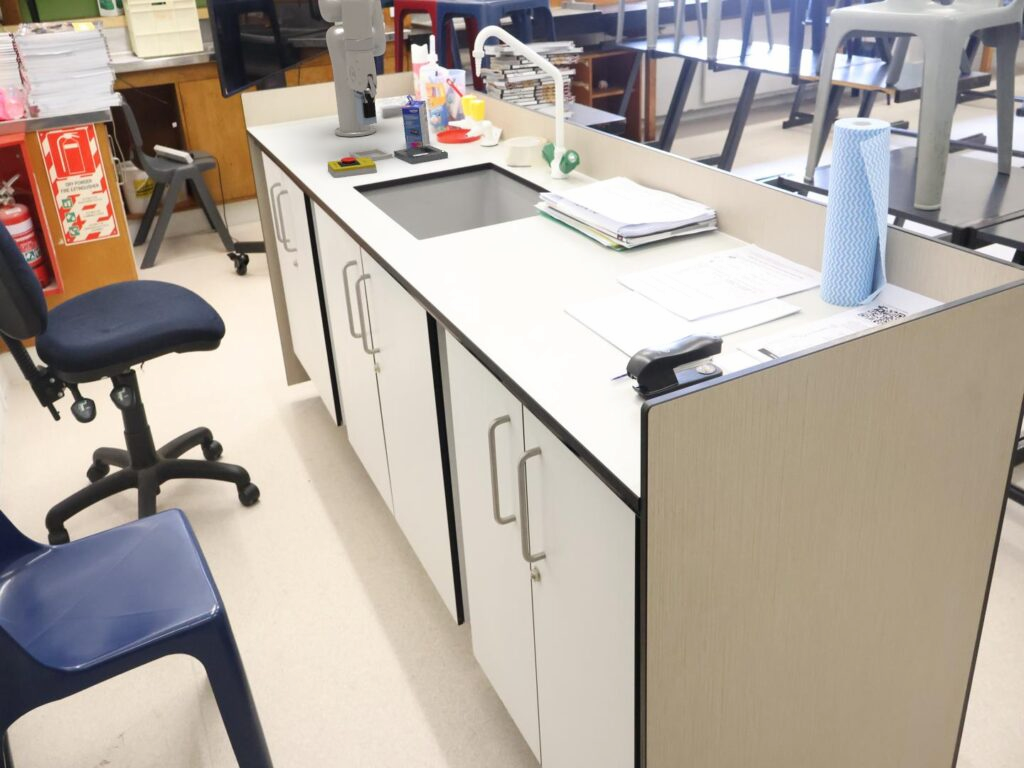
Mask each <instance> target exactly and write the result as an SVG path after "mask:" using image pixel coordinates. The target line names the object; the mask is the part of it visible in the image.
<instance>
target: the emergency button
mask: <svg viewBox="0 0 1024 768" xmlns="http://www.w3.org/2000/svg"><path fill="white" fill-rule="evenodd" d="M327 171H328V172H329V174H330V175H331V176H332V177H333V178H336V179H337V178H346V177H352V176H353V177H354V176H362V175H368V174H369V175H370V174H375V173H376V174H377V172H378V170H377V164H376V163H375V161H372V160H371V159H370V158H369V157H363V158H354V157H350V156H348V157H342V158H341V159H340V160H339V159H338V160H332V161H328V162H327Z"/></svg>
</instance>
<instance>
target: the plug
mask: <svg viewBox="0 0 1024 768" xmlns="http://www.w3.org/2000/svg"><path fill="white" fill-rule="evenodd" d="M354 93H355V94H354V95H355V103H356V112H357V122H358V123H360V124H362V125H368V124H370V125H373V124H377V123H378V121H377V119H378V118H377V116H376V117H372V118H365V117H364V110H363V103H364V99H363V93H362V92H354ZM368 94H369V93H366V96H367V95H368ZM375 112H376V113H377V110H376V106H375Z"/></svg>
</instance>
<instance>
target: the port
mask: <svg viewBox="0 0 1024 768" xmlns="http://www.w3.org/2000/svg"><path fill="white" fill-rule="evenodd" d="M448 154H449V153H448V151H446V150H443V149H441V148H438V147H436V146H432V145H430V144H427V145H426V146H421V147H415V148H409V149H407V148H404V149H403V148H402V149H396V150H394V151H393V156H394V157H395V158H397V159H399V160H401V161H403V162H406V163H408V164H410V165H417V164H421V163H428V162H433V161H438V160H439V161H440V160H444V159H449V155H448ZM394 157H393V158H394Z"/></svg>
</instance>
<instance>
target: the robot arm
mask: <svg viewBox="0 0 1024 768" xmlns="http://www.w3.org/2000/svg"><path fill="white" fill-rule="evenodd" d="M317 1H318V2H317V3H318V8H319V12H320V15H321V17H322V19H323V20H324V21H325V22H328V23H342V24H336V25H332V26H331V27H329V28H328V29H327V31H326V34H325V41H326V46H327V50H328V53H329V54H328V55H329V58H330V62H331V66H332V67H331V68H332V74H333V81H334V84H333V85H334V90H335V97H336V107H337V115H338V116H337V117H338V126H339V127H337V128H335V129H334V133H335V135H336V136H339V137H347V138H350V137H351V138H353V137H354V138H355V137H361V136H362V137H364V136H368V135H372V134H375V132H377V130H376V126H374V125H372V124H368V125H362V124H360V123H358V122H357V112H356V103H355V95H354V94H355V93H354V92H362V93H363V99H364V103H363V110H364V117H365V118H372V117H376V118H377V111H376V112H375V107H376V95H377V89H378V77H377V70H376V63H375V57H379V56H382V55H384V54H385V52H386V49H387V48H386V47H387V39H386V31H385V30H386V29H385V26H384V25H385V24H384V17H383V10H382V2H381V0H317ZM368 89H369V90H368ZM366 93H369V94H368V95H367V96H366Z"/></svg>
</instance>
